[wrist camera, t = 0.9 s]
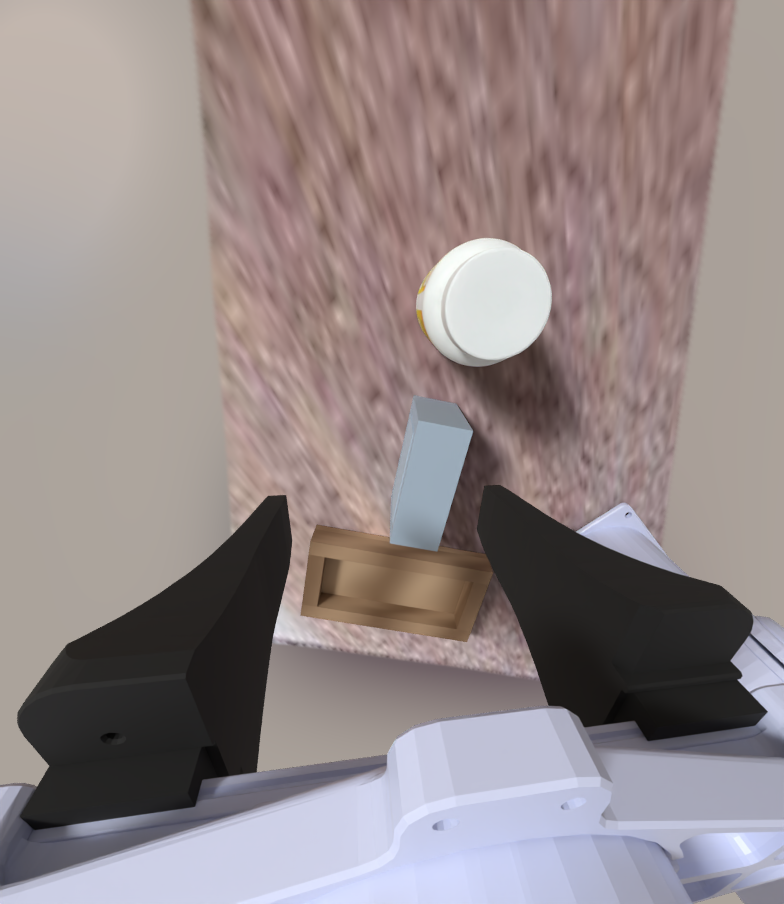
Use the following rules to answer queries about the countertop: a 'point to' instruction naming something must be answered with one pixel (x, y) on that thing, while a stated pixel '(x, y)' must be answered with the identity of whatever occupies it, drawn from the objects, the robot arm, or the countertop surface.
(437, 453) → the grey rectangular block
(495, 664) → the countertop surface
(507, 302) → the supplement bottle
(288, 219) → the countertop surface
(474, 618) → the wooden tray
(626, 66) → the countertop surface
